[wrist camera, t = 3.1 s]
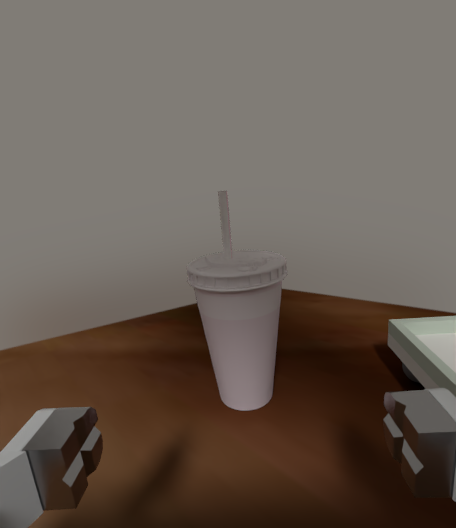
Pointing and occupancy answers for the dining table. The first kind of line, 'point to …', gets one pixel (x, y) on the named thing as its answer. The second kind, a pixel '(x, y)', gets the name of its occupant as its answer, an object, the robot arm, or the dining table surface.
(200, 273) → the smoothie
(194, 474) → the dining table surface
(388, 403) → the robot arm
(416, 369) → the caster cart
